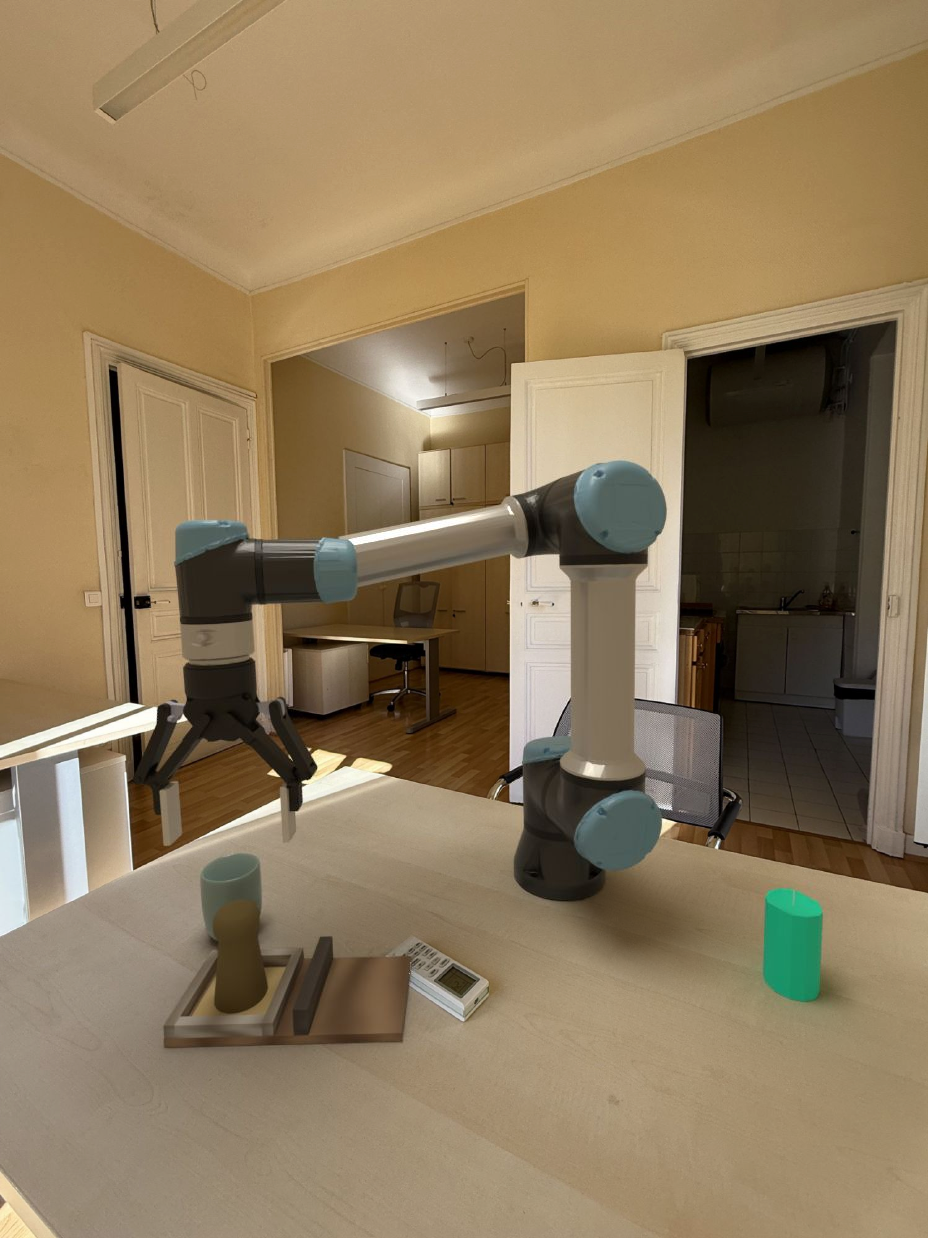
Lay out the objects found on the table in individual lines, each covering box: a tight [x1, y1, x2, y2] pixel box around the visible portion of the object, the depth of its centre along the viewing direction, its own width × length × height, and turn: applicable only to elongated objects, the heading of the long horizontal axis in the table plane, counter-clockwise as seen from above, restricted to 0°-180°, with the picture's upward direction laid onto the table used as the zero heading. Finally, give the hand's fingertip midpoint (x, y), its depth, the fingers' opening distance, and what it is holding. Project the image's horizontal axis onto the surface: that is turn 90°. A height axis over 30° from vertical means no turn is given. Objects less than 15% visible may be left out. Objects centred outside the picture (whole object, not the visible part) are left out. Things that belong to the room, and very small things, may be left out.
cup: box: [199, 852, 263, 942], centre depth 79 cm, size 8×8×10 cm
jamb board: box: [162, 935, 412, 1048], centre depth 66 cm, size 26×12×4 cm, turn 90°
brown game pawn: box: [213, 900, 268, 1014], centre depth 66 cm, size 6×6×11 cm
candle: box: [762, 887, 824, 1003], centre depth 67 cm, size 6×6×12 cm
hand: (231, 838), depth 64 cm, fingers open, 13 cm apart
